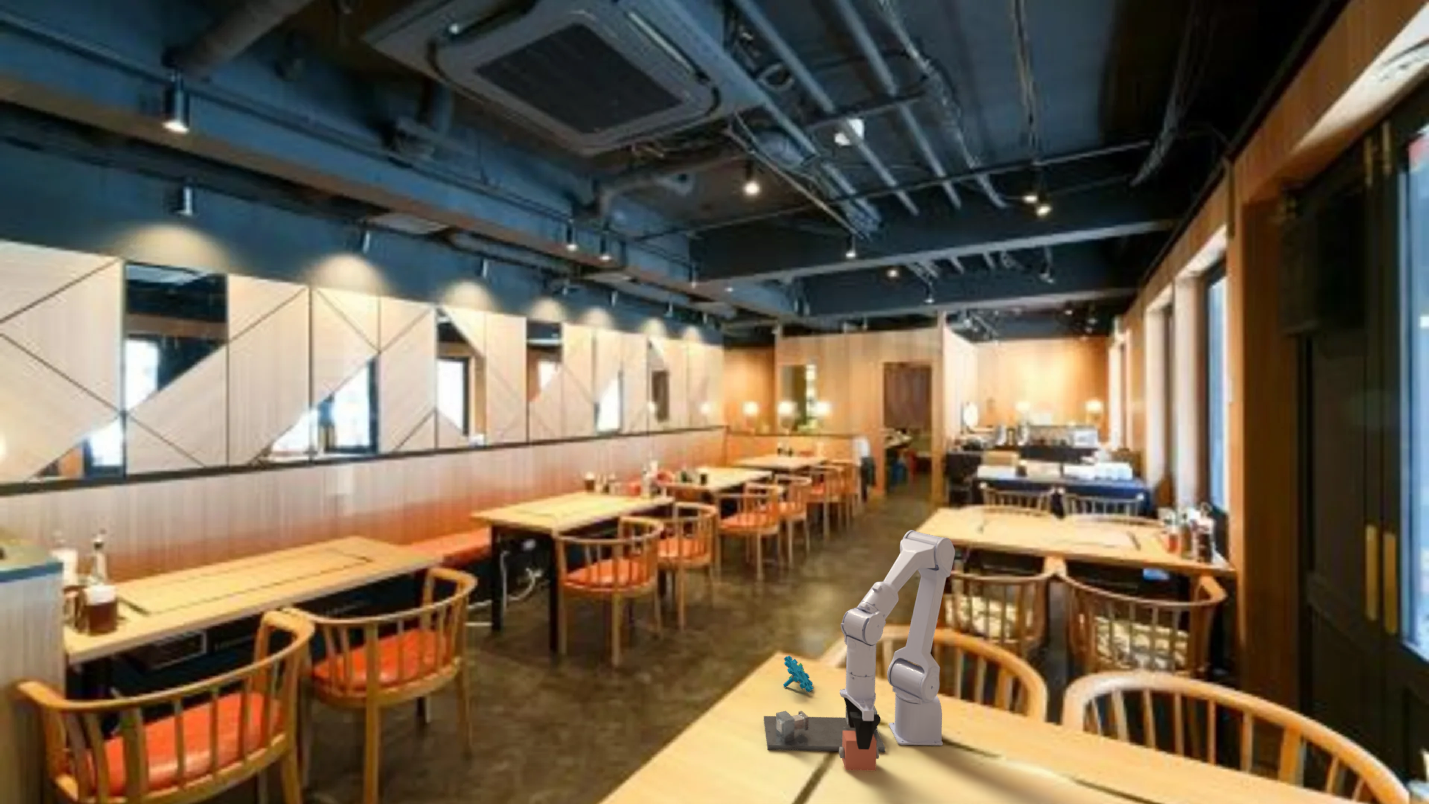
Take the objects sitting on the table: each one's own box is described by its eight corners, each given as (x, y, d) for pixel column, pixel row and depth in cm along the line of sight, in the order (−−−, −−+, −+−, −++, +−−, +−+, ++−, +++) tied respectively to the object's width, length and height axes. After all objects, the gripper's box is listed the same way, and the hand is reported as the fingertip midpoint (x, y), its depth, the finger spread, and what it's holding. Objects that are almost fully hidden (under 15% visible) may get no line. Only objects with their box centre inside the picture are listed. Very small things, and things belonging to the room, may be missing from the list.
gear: (812, 694, 151) (784, 660, 154) (794, 709, 152) (767, 675, 155) (818, 680, 162) (792, 648, 165) (801, 694, 163) (775, 662, 165)
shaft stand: (871, 722, 142) (872, 698, 142) (885, 752, 131) (885, 726, 130) (763, 720, 142) (764, 696, 142) (767, 749, 131) (768, 723, 131)
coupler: (875, 760, 128) (875, 731, 128) (879, 770, 124) (880, 741, 124) (838, 759, 128) (838, 730, 128) (841, 770, 124) (842, 740, 124)
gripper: (834, 654, 133) (832, 717, 133) (848, 687, 118) (846, 758, 119) (867, 655, 133) (865, 718, 133) (885, 688, 118) (883, 759, 119)
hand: (859, 737), depth 126 cm, fingers open, 7 cm apart
